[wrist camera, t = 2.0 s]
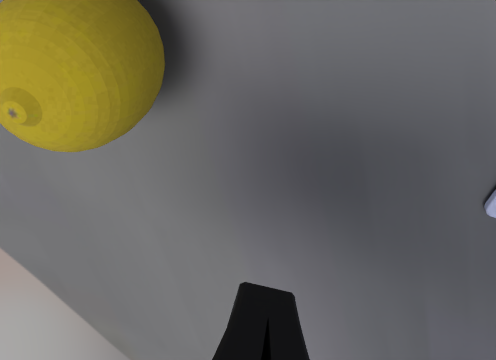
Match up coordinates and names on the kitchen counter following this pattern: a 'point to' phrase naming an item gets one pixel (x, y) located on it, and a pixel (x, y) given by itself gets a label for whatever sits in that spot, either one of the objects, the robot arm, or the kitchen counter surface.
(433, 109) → the kitchen counter surface
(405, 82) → the kitchen counter surface
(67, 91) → the lemon
